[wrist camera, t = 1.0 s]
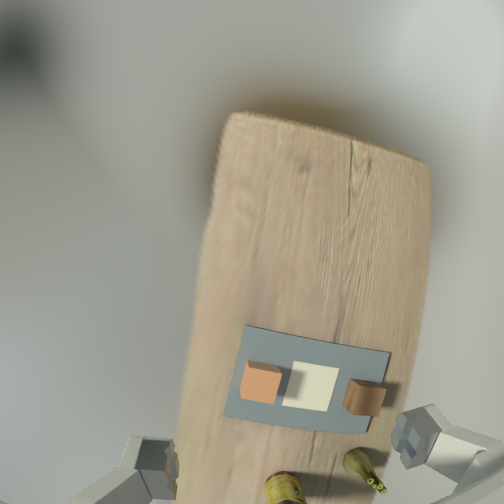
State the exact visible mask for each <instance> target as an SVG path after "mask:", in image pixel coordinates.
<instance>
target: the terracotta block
mask: <svg viewBox="0 0 504 504" xmlns="http://www.w3.org/2000/svg"><path fill="white" fill-rule="evenodd" d="M281 376H282V373H281V371H280V370H279V368H278V367H277V366H273V365H268V364H264V363H259V362H254V361H249V360H247V362H246V366H245V370H244V374H243V378H242V382H241V386H240V394H241V398H243V399H248V400H253V401H258V402H264V403H269V404H274V402H275V398H276V394H277V391H278V387H279V383H280V380H281Z"/></svg>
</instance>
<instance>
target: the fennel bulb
mask: <svg viewBox="0 0 504 504" xmlns="http://www.w3.org/2000/svg"><path fill="white" fill-rule="evenodd" d="M343 466H344V468H345V470H346V471H347V472H349V473H350V474H352V475H355V476H358V477H361V478H363V479H364V480H365V481H366V483H367V484H369V485H370V486H371V488H372V489H375V488H377V490H378V491H379V492H380V493H381V494H385V493H387V489H386V488H385V487H384V485H383V483H382V482H381V481H380V480H379V479H378V478H377V476H376V474H375V471H374V468H373V465H372V463H371V460H370V458H369V456H368V455H367V454H366V453H365V452H364V450H362V449H360V448H356V449H353V450H351V451H349V452H347V453H346V454H345V457H344V460H343Z"/></svg>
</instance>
